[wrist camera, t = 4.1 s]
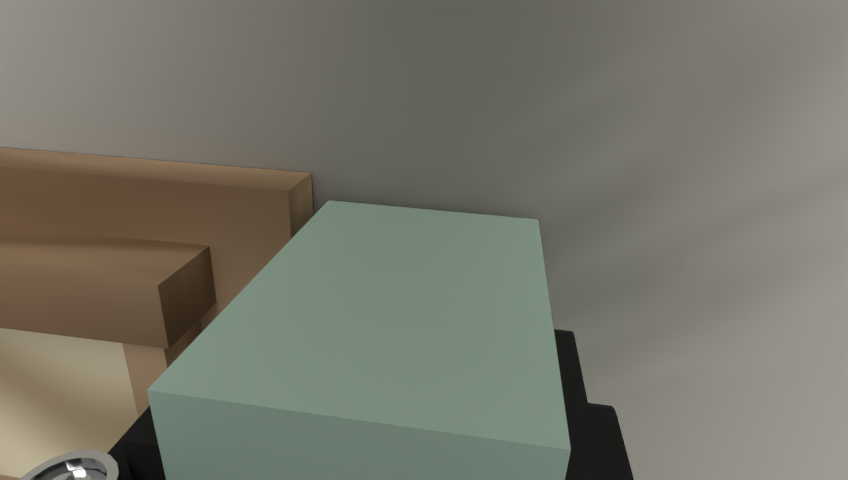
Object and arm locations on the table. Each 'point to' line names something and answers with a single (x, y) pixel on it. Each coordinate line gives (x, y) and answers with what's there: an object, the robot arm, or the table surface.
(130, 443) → the robot arm
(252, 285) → the spacer block
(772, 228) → the table surface
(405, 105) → the table surface
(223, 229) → the jig
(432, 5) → the table surface
